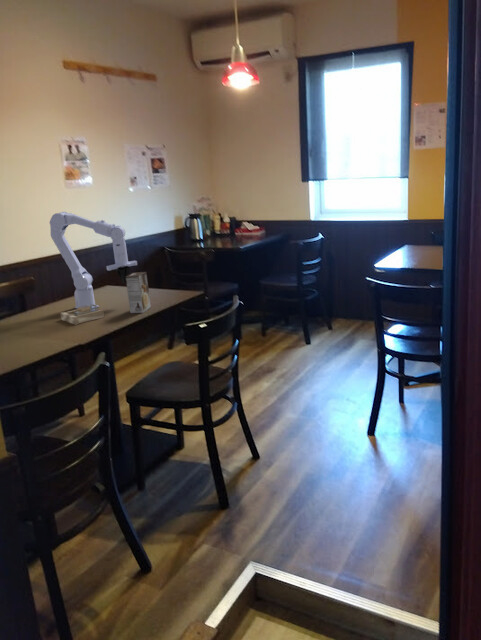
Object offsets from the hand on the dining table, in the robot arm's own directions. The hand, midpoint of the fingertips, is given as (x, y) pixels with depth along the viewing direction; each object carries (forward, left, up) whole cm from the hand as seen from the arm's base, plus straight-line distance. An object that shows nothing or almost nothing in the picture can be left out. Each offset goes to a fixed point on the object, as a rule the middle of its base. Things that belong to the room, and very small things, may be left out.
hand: (124, 283), depth 253 cm
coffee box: (+15, -2, -10) cm, 18 cm away
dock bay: (+5, -24, -10) cm, 26 cm away
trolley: (+5, -23, -10) cm, 25 cm away
